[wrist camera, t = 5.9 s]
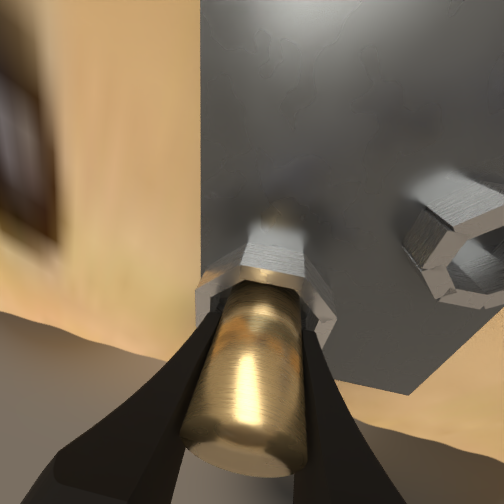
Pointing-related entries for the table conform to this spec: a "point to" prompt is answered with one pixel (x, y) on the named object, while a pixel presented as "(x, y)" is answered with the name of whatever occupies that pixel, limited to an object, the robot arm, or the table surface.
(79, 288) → the table surface
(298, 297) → the brass cylinder
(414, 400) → the table surface
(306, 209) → the fitting board
